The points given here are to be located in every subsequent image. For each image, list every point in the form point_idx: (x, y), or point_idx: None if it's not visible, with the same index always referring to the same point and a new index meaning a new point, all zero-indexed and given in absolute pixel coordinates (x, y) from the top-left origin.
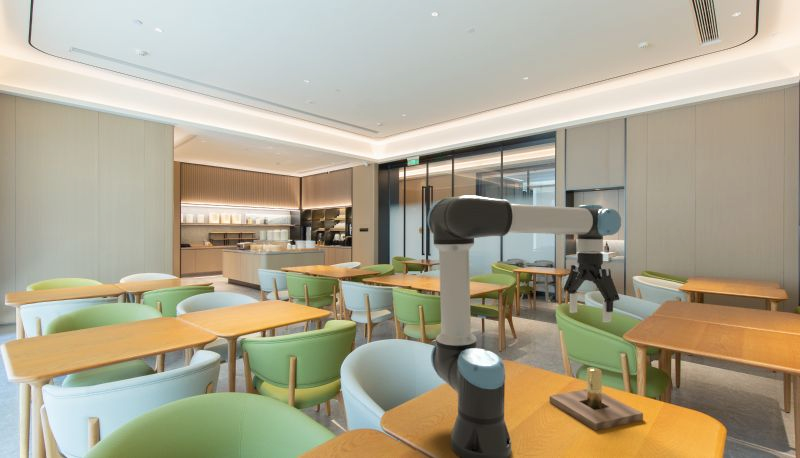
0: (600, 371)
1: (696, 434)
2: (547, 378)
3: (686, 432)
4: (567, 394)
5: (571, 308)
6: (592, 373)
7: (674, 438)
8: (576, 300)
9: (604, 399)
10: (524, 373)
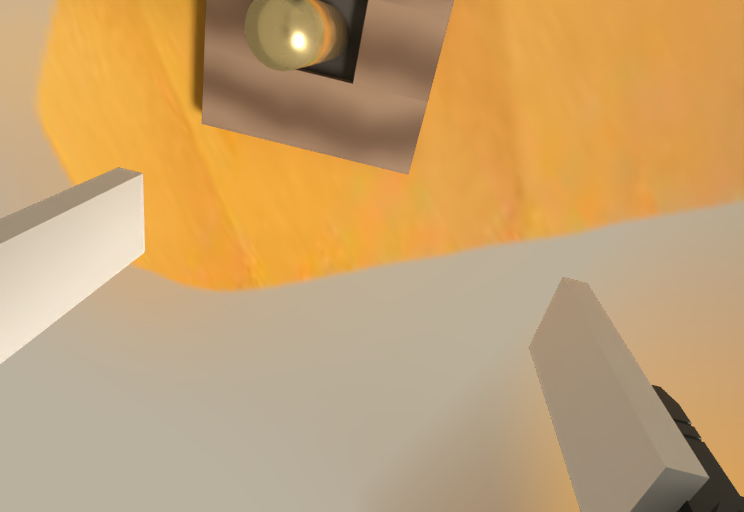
0: (249, 37)
1: (107, 167)
2: (610, 156)
3: (123, 155)
4: (434, 16)
5: (576, 310)
6: None
7: (108, 85)
8: (569, 441)
9: (326, 112)
10: (723, 114)
